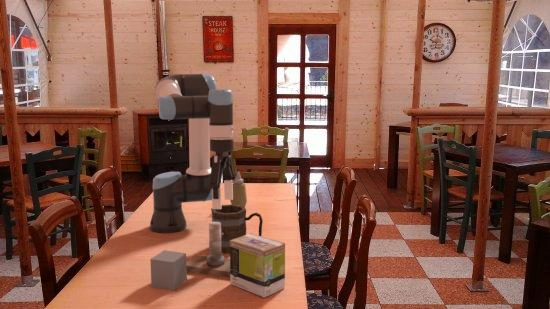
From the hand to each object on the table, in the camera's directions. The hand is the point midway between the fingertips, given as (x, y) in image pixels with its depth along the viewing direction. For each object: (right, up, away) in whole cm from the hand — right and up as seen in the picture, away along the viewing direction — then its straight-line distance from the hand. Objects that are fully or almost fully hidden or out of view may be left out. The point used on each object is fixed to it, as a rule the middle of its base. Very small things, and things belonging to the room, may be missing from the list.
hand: (223, 204), depth 160 cm
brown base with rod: (-3, -23, +8) cm, 24 cm away
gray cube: (-17, -25, -3) cm, 30 cm away
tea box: (+11, -25, -5) cm, 28 cm away
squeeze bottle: (-1, -10, +81) cm, 82 cm away
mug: (+2, -20, +28) cm, 34 cm away
